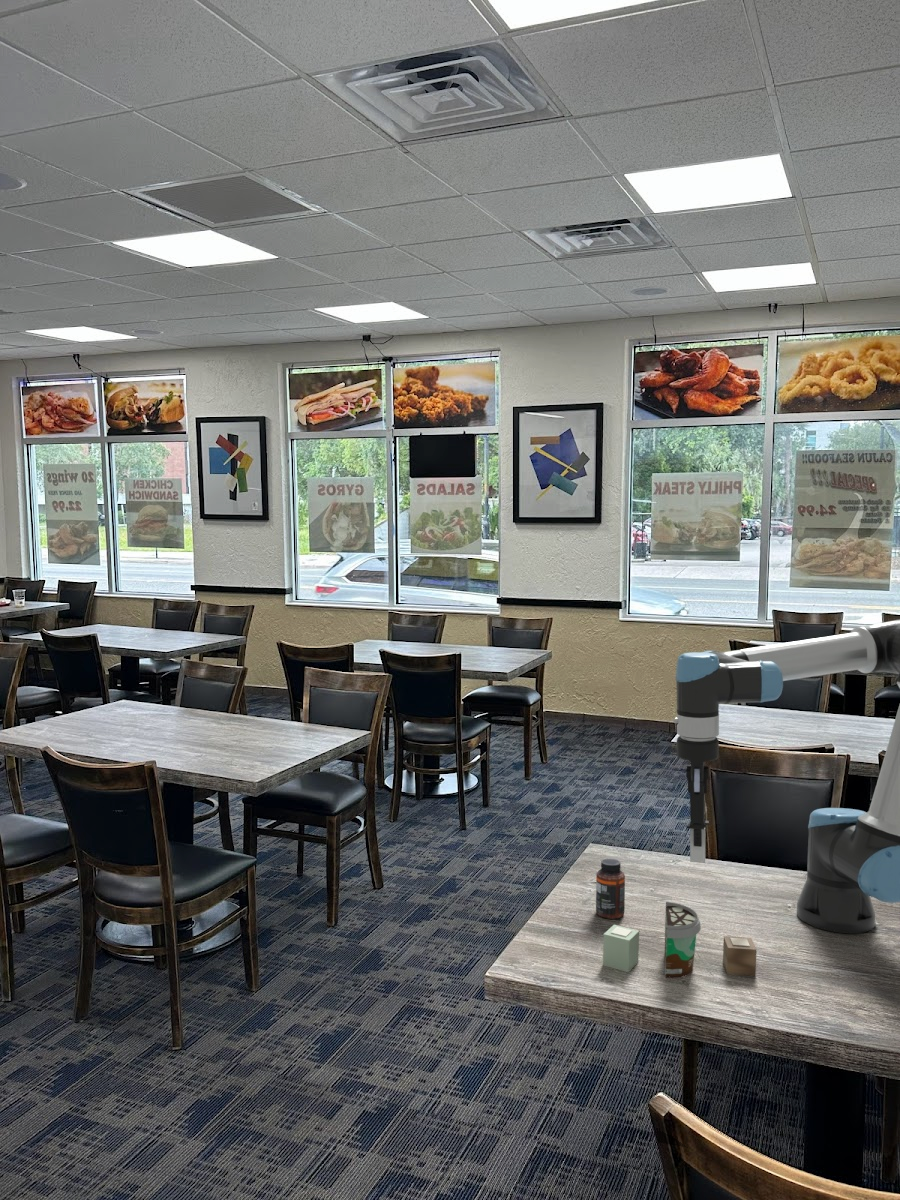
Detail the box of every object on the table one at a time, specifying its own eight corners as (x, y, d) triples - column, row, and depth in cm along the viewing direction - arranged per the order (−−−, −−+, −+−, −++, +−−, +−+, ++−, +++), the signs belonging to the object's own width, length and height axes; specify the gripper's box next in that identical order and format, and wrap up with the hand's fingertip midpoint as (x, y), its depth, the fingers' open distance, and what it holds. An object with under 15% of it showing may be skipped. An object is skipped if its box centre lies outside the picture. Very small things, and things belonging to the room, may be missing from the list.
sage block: (638, 962, 176) (639, 929, 176) (628, 972, 172) (629, 939, 171) (613, 955, 179) (614, 923, 178) (602, 965, 174) (603, 932, 174)
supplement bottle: (623, 909, 200) (624, 857, 199) (625, 920, 194) (627, 867, 194) (594, 907, 201) (596, 856, 200) (596, 919, 195) (597, 865, 194)
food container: (701, 985, 167) (703, 930, 166) (665, 981, 168) (667, 926, 168) (697, 954, 179) (699, 903, 179) (664, 951, 180) (665, 900, 180)
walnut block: (750, 963, 176) (751, 936, 176) (755, 976, 171) (756, 948, 171) (722, 961, 177) (723, 935, 176) (727, 974, 172) (728, 946, 171)
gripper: (678, 728, 182) (678, 847, 183) (674, 743, 169) (675, 871, 171) (718, 729, 179) (718, 850, 181) (718, 745, 167) (718, 875, 169)
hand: (697, 860), depth 176 cm, fingers closed
